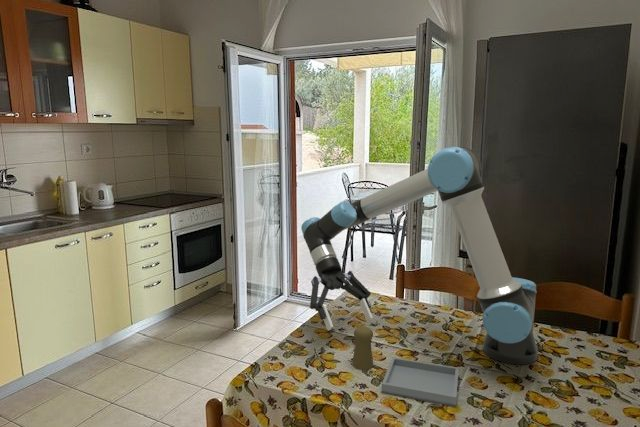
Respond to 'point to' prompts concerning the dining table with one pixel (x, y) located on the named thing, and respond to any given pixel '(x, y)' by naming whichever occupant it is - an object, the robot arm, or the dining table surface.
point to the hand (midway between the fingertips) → (350, 324)
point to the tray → (421, 381)
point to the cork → (363, 349)
